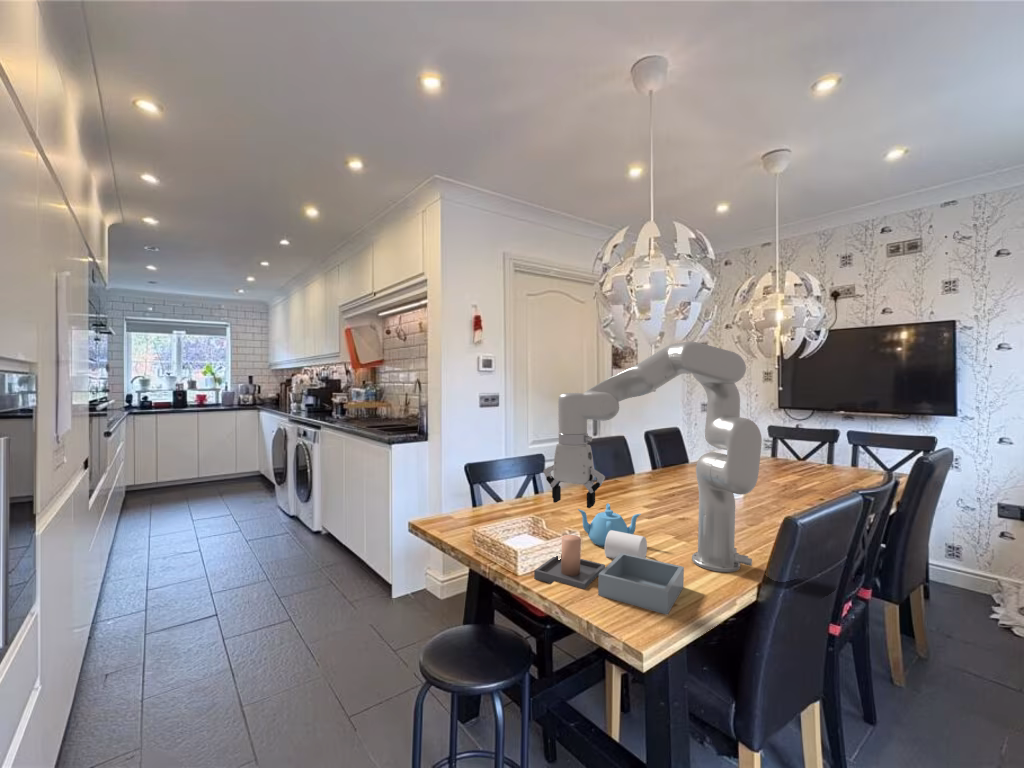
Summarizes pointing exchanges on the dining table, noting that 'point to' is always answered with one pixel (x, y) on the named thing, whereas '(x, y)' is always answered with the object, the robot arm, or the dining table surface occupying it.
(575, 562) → the cylinder
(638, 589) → the bin
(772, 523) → the dining table surface
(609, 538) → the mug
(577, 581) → the tray
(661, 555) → the dining table surface
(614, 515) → the teapot
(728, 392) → the robot arm
